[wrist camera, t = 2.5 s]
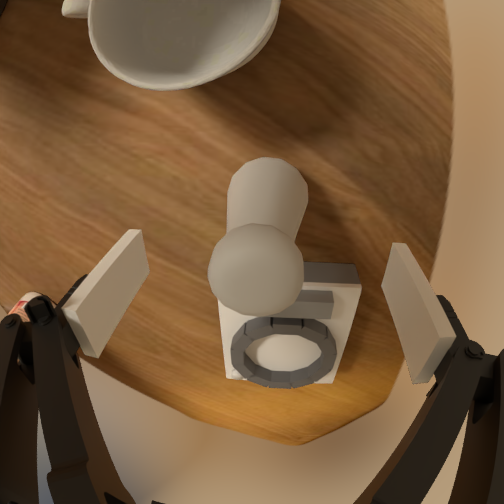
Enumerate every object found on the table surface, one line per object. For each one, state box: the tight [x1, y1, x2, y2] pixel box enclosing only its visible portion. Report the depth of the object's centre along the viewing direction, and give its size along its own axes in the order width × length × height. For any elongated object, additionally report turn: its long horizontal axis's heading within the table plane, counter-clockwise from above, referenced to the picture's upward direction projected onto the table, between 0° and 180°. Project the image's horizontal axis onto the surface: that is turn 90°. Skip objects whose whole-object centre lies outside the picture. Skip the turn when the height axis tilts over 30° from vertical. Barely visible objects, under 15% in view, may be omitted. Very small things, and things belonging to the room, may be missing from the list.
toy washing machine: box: [218, 262, 362, 389], centre depth 29 cm, size 14×12×5 cm
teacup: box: [62, 0, 281, 91], centre depth 13 cm, size 14×11×8 cm
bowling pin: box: [208, 157, 308, 317], centre depth 18 cm, size 6×6×13 cm
